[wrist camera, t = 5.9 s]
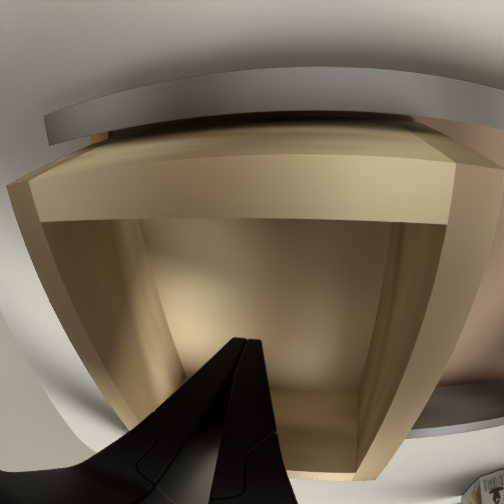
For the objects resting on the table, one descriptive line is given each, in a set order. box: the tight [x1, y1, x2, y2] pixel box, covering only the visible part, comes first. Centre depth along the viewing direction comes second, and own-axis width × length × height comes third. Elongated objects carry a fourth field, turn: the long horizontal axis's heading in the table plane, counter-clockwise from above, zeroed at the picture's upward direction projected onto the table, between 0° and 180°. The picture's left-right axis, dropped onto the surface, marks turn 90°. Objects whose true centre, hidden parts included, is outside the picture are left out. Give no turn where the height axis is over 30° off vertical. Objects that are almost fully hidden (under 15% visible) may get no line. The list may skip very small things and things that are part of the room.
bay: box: [44, 67, 504, 439], centre depth 9 cm, size 22×15×6 cm, turn 95°
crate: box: [7, 117, 504, 481], centre depth 10 cm, size 10×12×5 cm
